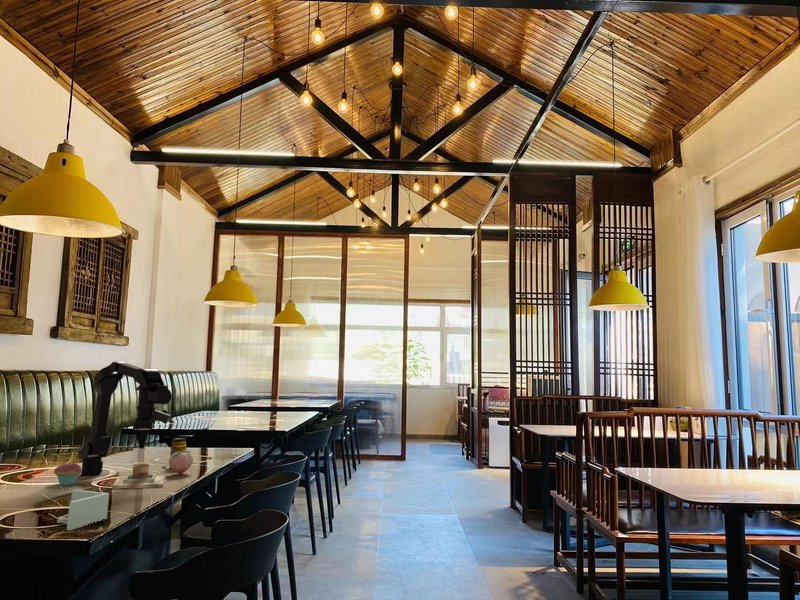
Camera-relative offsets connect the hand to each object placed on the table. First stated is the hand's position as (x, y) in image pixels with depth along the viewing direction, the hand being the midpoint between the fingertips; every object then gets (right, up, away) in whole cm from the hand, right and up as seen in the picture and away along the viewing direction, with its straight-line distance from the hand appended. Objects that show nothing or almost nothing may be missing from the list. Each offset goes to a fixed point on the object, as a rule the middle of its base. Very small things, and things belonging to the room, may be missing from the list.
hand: (142, 446), depth 203 cm
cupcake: (-25, -12, -5) cm, 28 cm away
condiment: (-2, -18, +33) cm, 37 cm away
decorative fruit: (+6, -16, +18) cm, 24 cm away
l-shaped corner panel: (+5, -7, -53) cm, 54 cm away
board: (0, -13, -2) cm, 13 cm away
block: (0, -12, -2) cm, 12 cm away
